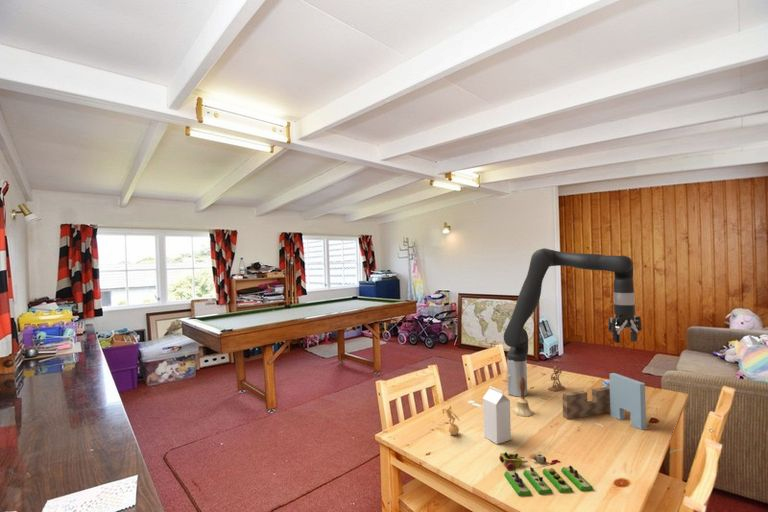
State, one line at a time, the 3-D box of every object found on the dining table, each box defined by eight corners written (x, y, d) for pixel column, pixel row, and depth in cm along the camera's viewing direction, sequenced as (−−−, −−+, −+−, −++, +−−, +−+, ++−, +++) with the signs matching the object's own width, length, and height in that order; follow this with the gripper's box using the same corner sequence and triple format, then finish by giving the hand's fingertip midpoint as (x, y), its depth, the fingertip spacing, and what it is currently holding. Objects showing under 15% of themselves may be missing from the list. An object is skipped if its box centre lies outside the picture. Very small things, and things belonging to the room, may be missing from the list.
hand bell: (537, 414, 161) (536, 378, 161) (521, 418, 158) (520, 380, 158) (523, 407, 169) (522, 372, 169) (508, 410, 166) (508, 375, 166)
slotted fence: (567, 419, 156) (566, 395, 156) (563, 416, 158) (562, 393, 158) (616, 410, 163) (615, 388, 163) (611, 408, 165) (610, 386, 165)
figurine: (465, 436, 143) (464, 405, 143) (455, 441, 139) (454, 410, 139) (449, 429, 150) (448, 399, 150) (439, 433, 146) (438, 403, 146)
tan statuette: (554, 391, 187) (553, 368, 187) (547, 389, 190) (547, 366, 190) (565, 388, 191) (564, 365, 191) (558, 386, 194) (558, 363, 194)
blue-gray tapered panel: (646, 429, 145) (644, 383, 145) (641, 430, 145) (640, 384, 145) (615, 414, 159) (614, 372, 159) (610, 415, 158) (609, 373, 158)
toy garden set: (518, 498, 107) (518, 482, 107) (493, 461, 126) (493, 448, 126) (593, 491, 109) (593, 476, 109) (557, 457, 128) (556, 443, 128)
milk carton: (497, 444, 137) (495, 393, 136) (483, 436, 143) (482, 387, 143) (511, 439, 140) (509, 389, 140) (497, 432, 146) (496, 384, 146)
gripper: (617, 305, 150) (619, 345, 149) (646, 303, 153) (647, 342, 153) (602, 303, 157) (604, 341, 157) (630, 301, 160) (631, 338, 160)
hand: (625, 341), depth 155 cm, fingers open, 8 cm apart
